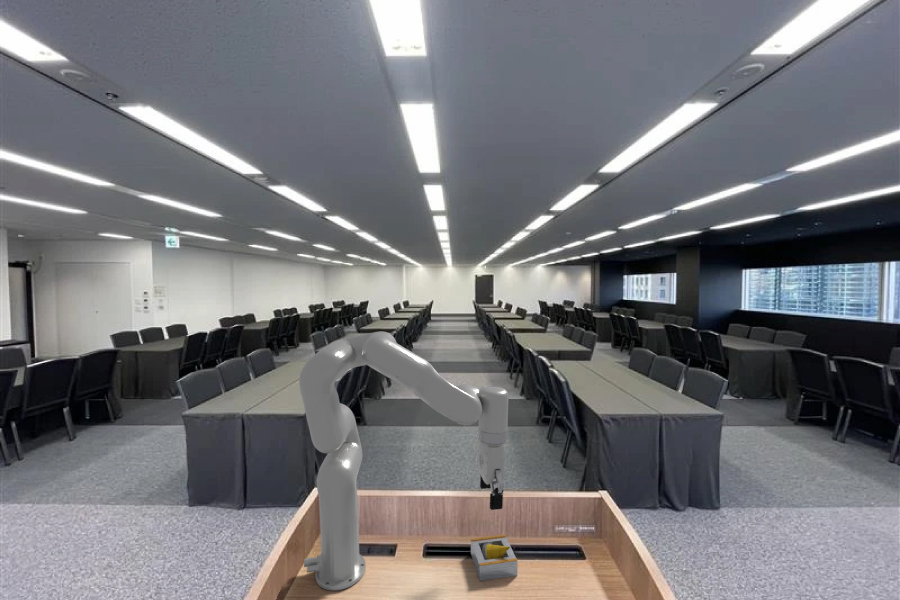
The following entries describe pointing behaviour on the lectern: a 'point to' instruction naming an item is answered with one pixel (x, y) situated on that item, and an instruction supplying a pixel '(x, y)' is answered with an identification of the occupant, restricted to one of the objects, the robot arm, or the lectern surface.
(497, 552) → the drill bit
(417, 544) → the lectern surface
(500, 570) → the block
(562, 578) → the lectern surface
